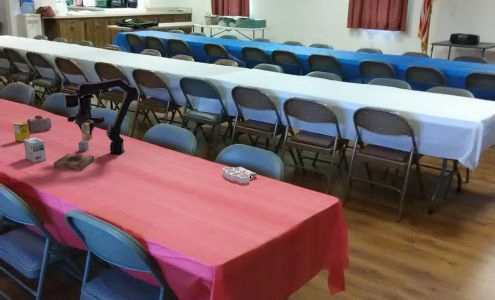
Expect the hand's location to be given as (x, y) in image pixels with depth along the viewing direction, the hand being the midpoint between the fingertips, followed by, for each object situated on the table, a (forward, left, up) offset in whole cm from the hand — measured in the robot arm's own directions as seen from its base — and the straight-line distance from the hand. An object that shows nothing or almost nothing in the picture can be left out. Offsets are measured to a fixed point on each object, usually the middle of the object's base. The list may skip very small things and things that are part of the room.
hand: (87, 134), depth 287 cm
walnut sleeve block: (+1, +15, -12) cm, 19 cm away
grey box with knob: (+52, -43, -13) cm, 69 cm away
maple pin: (0, 0, -3) cm, 3 cm away
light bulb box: (+25, +11, -13) cm, 30 cm away
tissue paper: (-86, +17, -13) cm, 89 cm away
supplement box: (+50, -19, -13) cm, 55 cm away
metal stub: (+7, -9, -12) cm, 17 cm away
